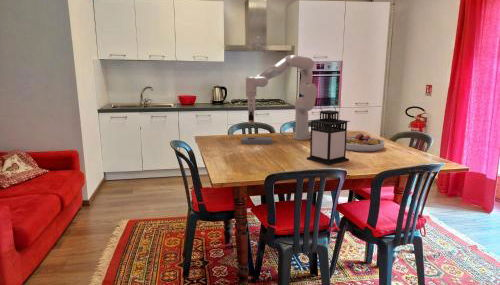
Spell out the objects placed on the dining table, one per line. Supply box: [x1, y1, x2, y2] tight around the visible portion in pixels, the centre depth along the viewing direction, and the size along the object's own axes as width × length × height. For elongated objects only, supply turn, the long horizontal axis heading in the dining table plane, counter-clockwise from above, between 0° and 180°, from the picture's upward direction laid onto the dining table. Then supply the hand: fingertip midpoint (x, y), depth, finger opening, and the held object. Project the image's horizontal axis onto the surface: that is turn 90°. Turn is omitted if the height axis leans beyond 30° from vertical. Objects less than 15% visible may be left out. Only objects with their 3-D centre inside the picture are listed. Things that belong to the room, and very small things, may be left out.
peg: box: [247, 109, 255, 125], centre depth 263 cm, size 4×4×10 cm
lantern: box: [306, 100, 351, 166], centre depth 212 cm, size 17×17×35 cm
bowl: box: [346, 133, 385, 153], centre depth 247 cm, size 30×30×8 cm
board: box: [240, 136, 273, 145], centre depth 266 cm, size 22×11×3 cm, turn 88°
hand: (251, 119), depth 263 cm, fingers closed on peg, 4 cm apart
